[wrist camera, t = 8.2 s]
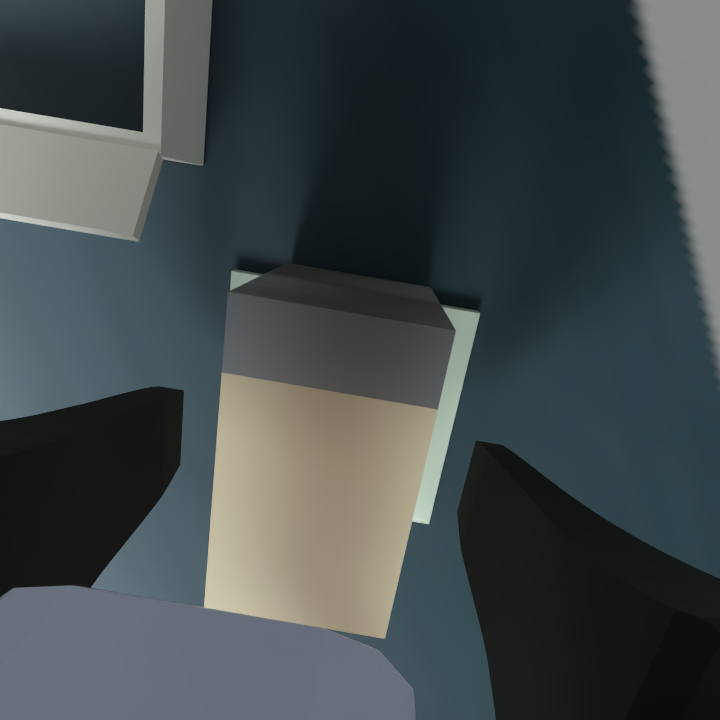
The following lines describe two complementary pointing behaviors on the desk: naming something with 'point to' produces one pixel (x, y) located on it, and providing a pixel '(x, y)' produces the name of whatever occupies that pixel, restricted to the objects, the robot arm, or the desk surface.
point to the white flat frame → (114, 138)
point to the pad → (451, 391)
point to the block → (322, 444)
